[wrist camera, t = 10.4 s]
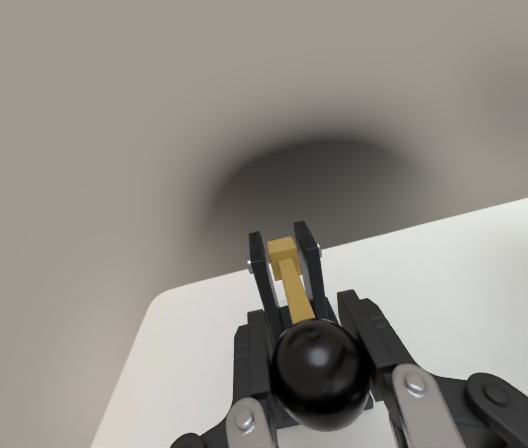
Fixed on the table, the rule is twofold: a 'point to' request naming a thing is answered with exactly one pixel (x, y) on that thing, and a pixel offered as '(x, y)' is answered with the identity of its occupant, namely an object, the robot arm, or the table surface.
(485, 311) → the table surface
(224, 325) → the table surface
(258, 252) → the lock bracket
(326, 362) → the lever
